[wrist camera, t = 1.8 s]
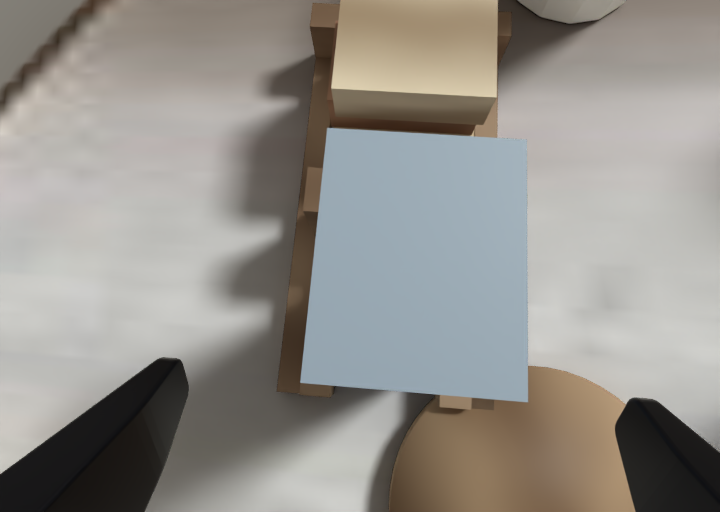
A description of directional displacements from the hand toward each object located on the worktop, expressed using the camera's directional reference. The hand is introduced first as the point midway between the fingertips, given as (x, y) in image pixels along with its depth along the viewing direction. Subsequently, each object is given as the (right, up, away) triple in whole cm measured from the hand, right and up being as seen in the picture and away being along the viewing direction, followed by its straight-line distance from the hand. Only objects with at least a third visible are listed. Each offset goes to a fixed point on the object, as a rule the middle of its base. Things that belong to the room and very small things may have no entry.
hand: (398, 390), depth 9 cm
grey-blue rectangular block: (0, 0, +10) cm, 10 cm away
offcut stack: (+1, +9, +12) cm, 15 cm away
